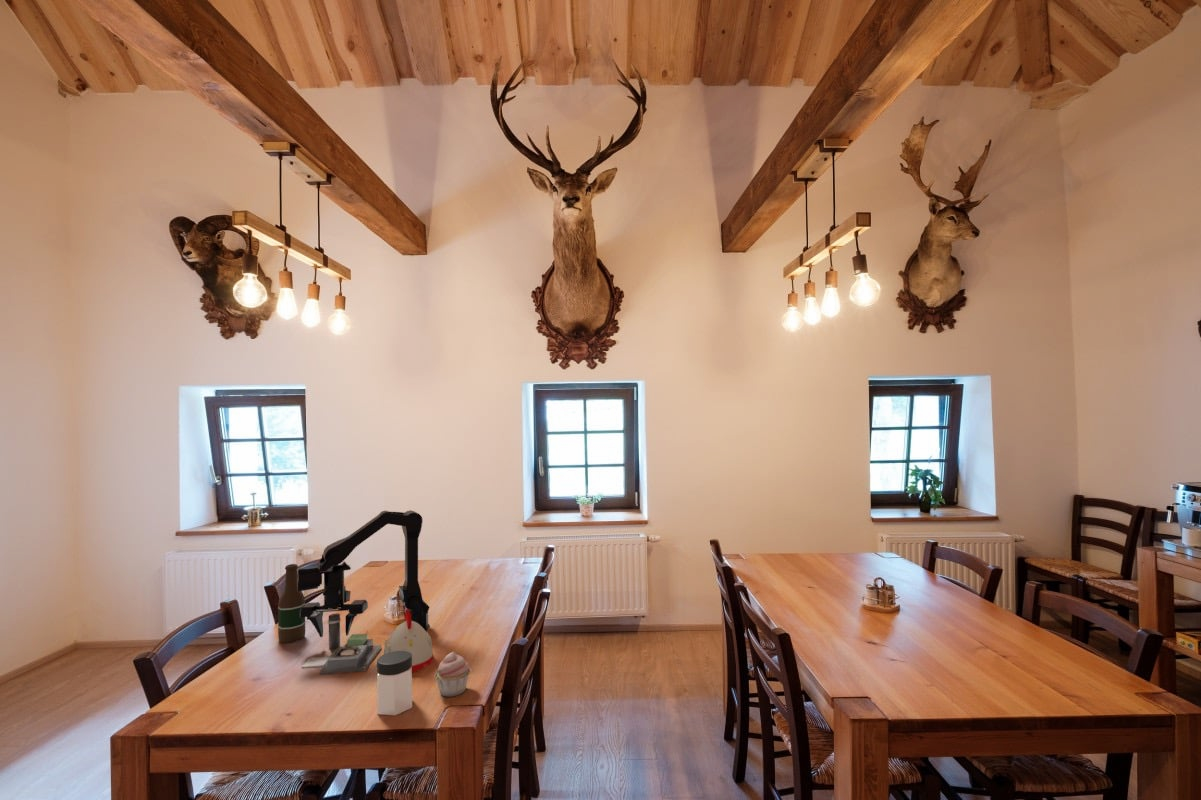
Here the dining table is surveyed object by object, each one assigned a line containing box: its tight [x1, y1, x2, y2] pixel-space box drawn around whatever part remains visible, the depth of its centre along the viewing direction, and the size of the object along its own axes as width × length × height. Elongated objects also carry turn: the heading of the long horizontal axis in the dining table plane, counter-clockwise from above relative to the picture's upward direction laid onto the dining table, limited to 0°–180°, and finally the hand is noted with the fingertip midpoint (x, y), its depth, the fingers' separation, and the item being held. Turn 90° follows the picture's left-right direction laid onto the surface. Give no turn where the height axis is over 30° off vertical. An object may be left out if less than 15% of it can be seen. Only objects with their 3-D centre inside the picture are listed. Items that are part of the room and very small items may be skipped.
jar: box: [376, 651, 413, 717], centre depth 136 cm, size 9×8×12 cm
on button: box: [346, 633, 368, 646], centre depth 168 cm, size 4×4×2 cm
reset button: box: [341, 650, 354, 655], centre depth 160 cm, size 4×4×1 cm
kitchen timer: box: [382, 609, 434, 672], centre depth 161 cm, size 14×14×15 cm
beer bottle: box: [277, 563, 306, 644], centre depth 182 cm, size 8×8×24 cm
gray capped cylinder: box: [327, 613, 342, 651], centre depth 174 cm, size 4×4×10 cm
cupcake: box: [434, 651, 472, 698], centre depth 143 cm, size 9×9×10 cm
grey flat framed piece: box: [319, 638, 382, 675], centre depth 163 cm, size 12×16×4 cm
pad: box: [301, 656, 329, 669], centre depth 162 cm, size 6×6×1 cm
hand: (334, 636), depth 174 cm, fingers open, 7 cm apart
